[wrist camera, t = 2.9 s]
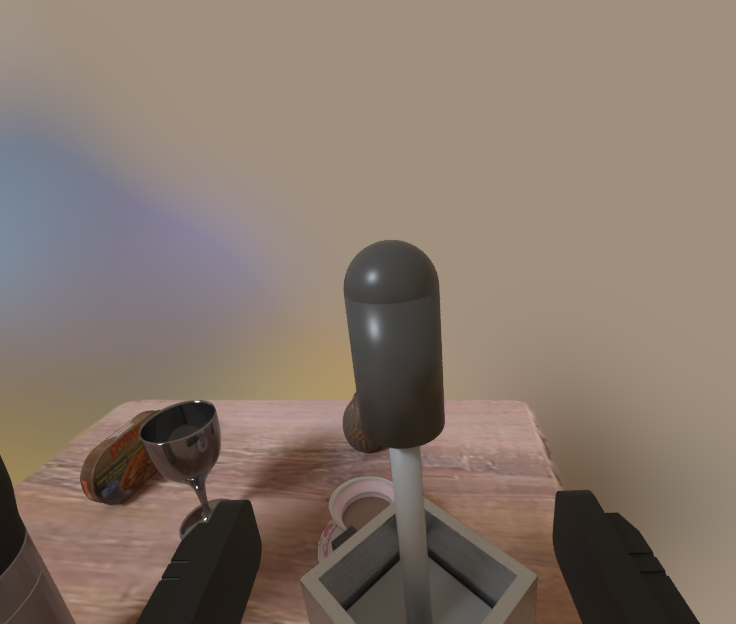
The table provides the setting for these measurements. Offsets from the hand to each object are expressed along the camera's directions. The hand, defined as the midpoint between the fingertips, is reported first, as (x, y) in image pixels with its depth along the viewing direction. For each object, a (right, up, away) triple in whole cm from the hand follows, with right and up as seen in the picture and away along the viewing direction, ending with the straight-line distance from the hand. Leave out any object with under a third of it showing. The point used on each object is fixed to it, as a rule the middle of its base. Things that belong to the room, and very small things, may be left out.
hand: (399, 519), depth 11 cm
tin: (-34, -19, +49) cm, 63 cm away
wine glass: (-21, -21, +40) cm, 50 cm away
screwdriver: (+3, -15, +15) cm, 21 cm away
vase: (-1, -15, +51) cm, 53 cm away
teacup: (0, -21, +35) cm, 40 cm away
